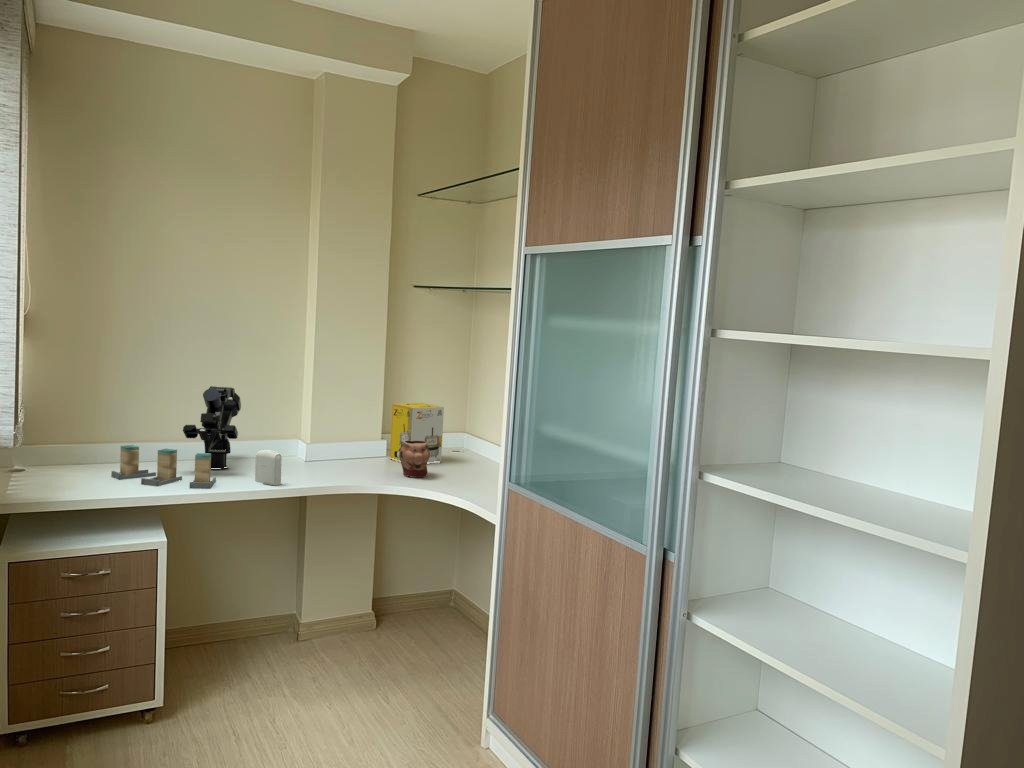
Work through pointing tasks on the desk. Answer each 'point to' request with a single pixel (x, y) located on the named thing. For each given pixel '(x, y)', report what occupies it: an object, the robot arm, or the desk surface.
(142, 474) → the slate track
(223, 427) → the robot arm
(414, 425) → the packaging box
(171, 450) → the oak key
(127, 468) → the oak key
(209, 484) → the slate track
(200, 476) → the oak key
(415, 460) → the decorative planter
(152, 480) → the slate track
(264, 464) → the photo printer
